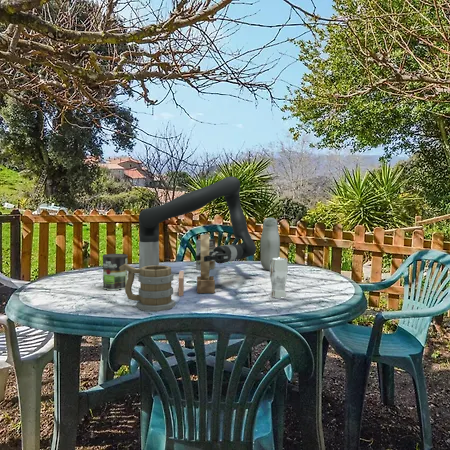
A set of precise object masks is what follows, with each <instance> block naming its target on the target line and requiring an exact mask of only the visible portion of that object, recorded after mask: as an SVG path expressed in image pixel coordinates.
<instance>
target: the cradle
mask: <svg viewBox="0 0 450 450" xmlns="http://www.w3.org/2000/svg"><path fill="white" fill-rule="evenodd" d="M215 281H216V280H215V277H214V276H211V275H209V280H201V275H200V276H198V275H197V276H196V291H197V292H196V293H197V294H212V293H213V294H215V293H216V292H215V291H216V286H215V285H216V282H215Z"/></svg>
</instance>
